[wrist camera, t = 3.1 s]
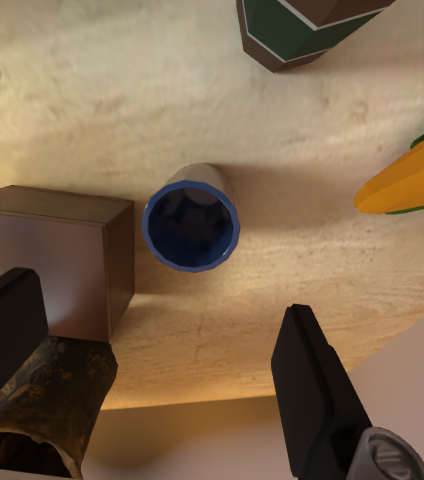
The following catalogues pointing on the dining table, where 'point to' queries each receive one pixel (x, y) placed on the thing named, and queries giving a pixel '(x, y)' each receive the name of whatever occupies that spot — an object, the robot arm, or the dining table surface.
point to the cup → (192, 219)
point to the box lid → (63, 270)
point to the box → (91, 210)
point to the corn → (396, 185)
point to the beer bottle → (300, 28)
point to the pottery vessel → (54, 406)
